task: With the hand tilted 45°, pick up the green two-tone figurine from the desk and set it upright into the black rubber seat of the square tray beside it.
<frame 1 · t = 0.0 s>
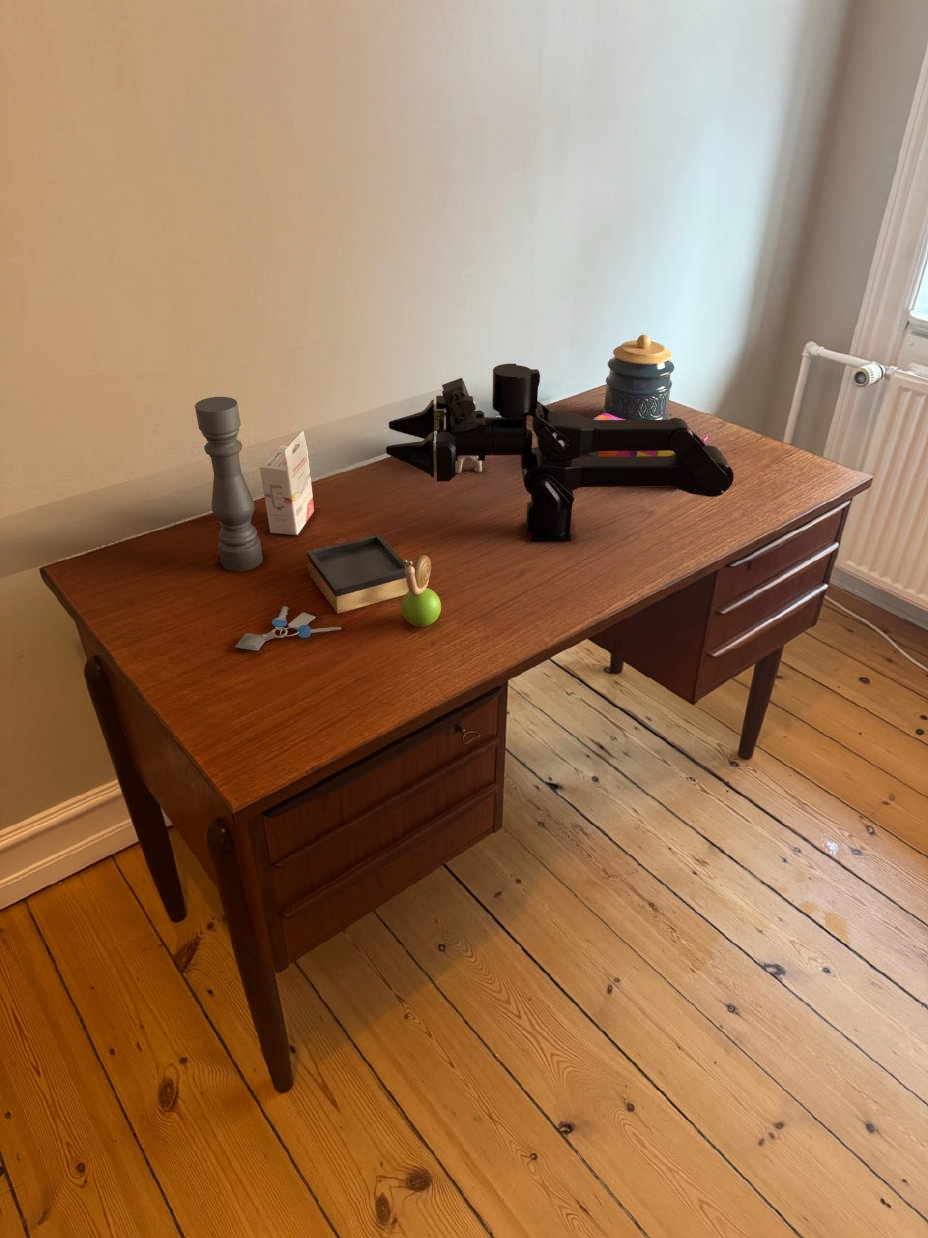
hand: (387, 437, 131), 17 cm above the table, tool horizontal, fingers open, 9 cm apart
green two-tone figurine: (420, 626, 120), on the table
pencil case: (640, 472, 160), on the table
canister: (633, 422, 179), on the table
white animal figure: (464, 461, 163), on the table
square tray: (360, 583, 129), on the table
ink cartridge box: (292, 523, 144), on the table
candle holder: (242, 561, 134), on the table
key chain: (284, 629, 120), on the table
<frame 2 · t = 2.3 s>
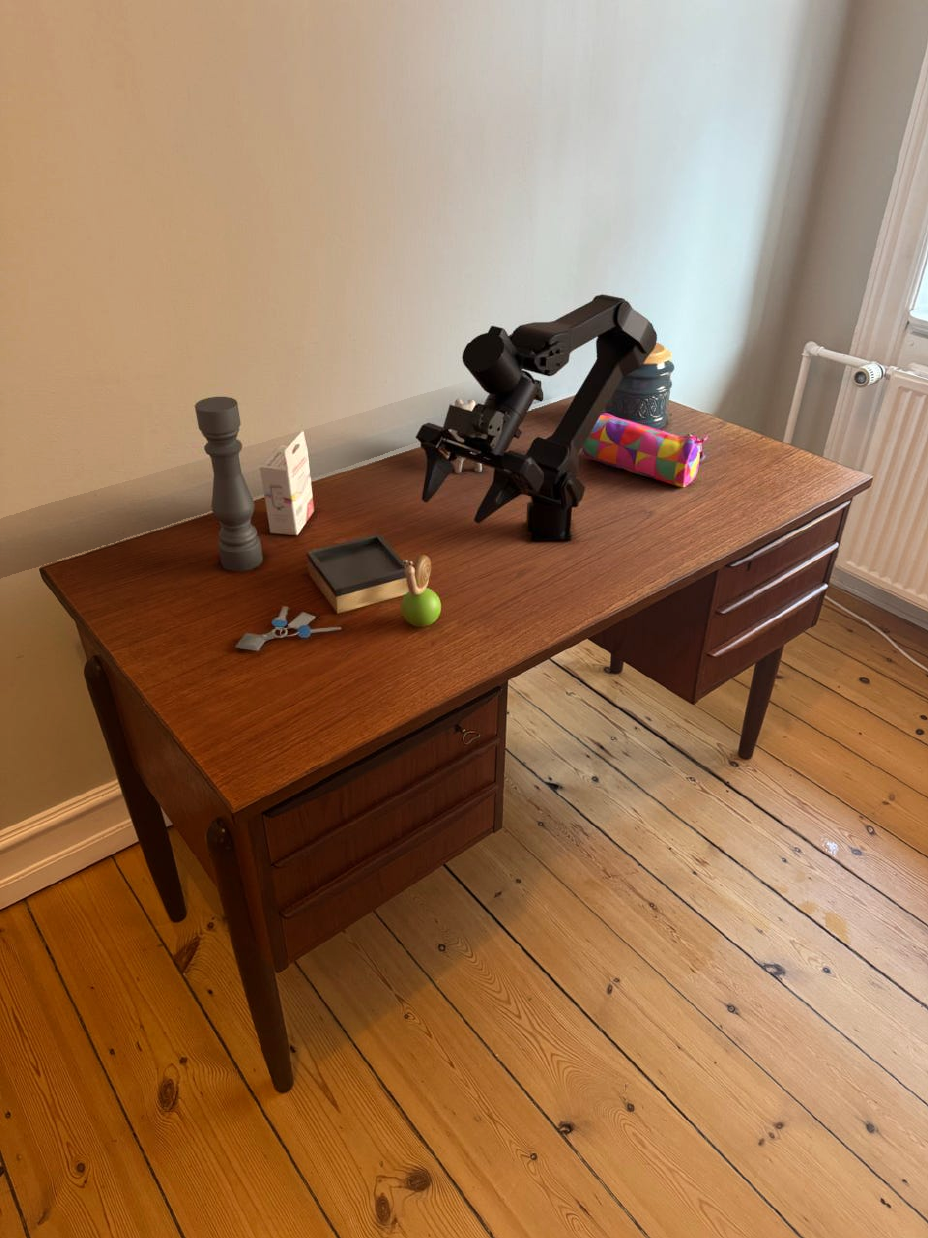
hand: (449, 511, 118), 14 cm above the table, tool tilted 45°, fingers open, 9 cm apart
nothing on the table moved.
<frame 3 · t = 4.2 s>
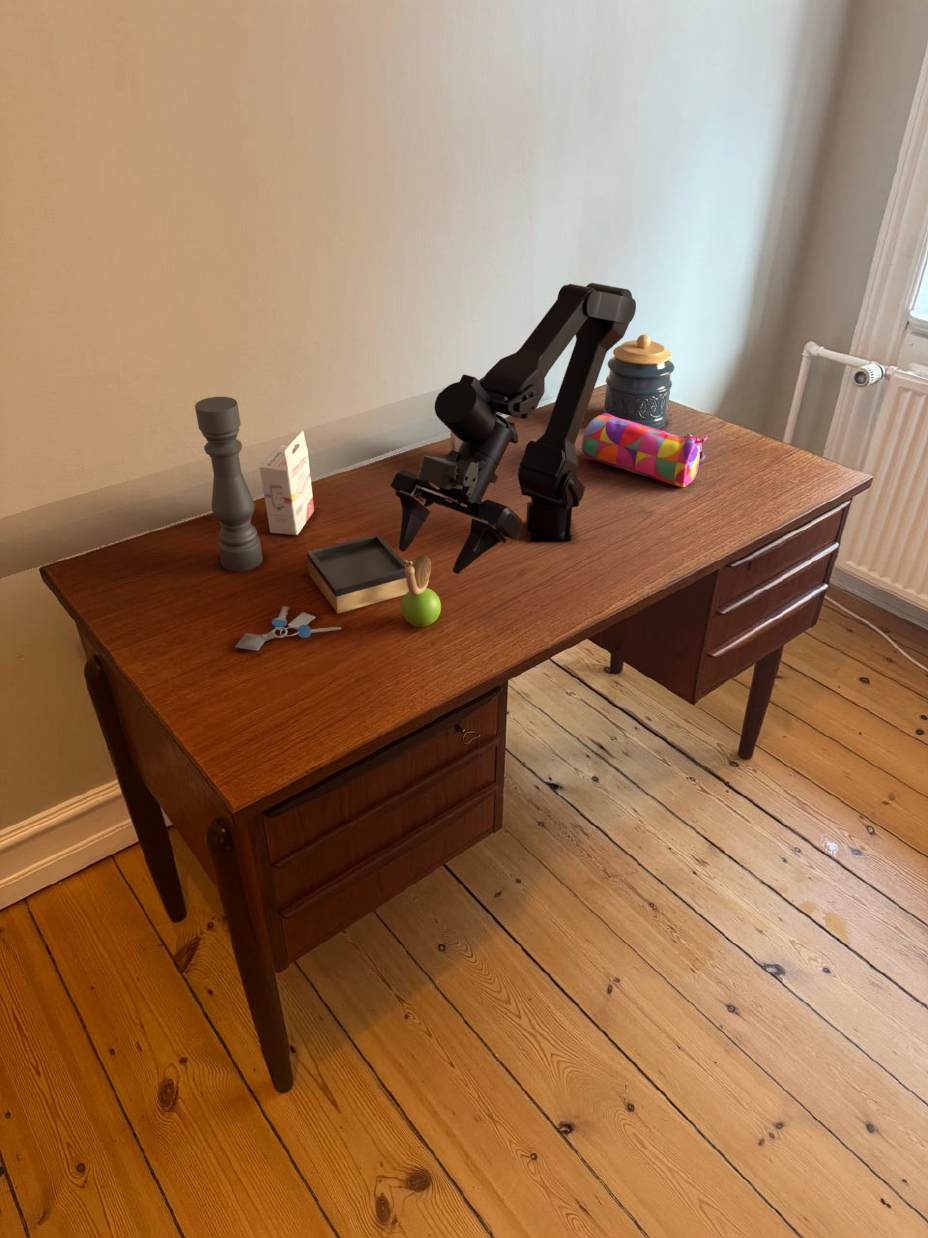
hand: (427, 561, 116), 9 cm above the table, tool tilted 45°, fingers open, 9 cm apart
nothing on the table moved.
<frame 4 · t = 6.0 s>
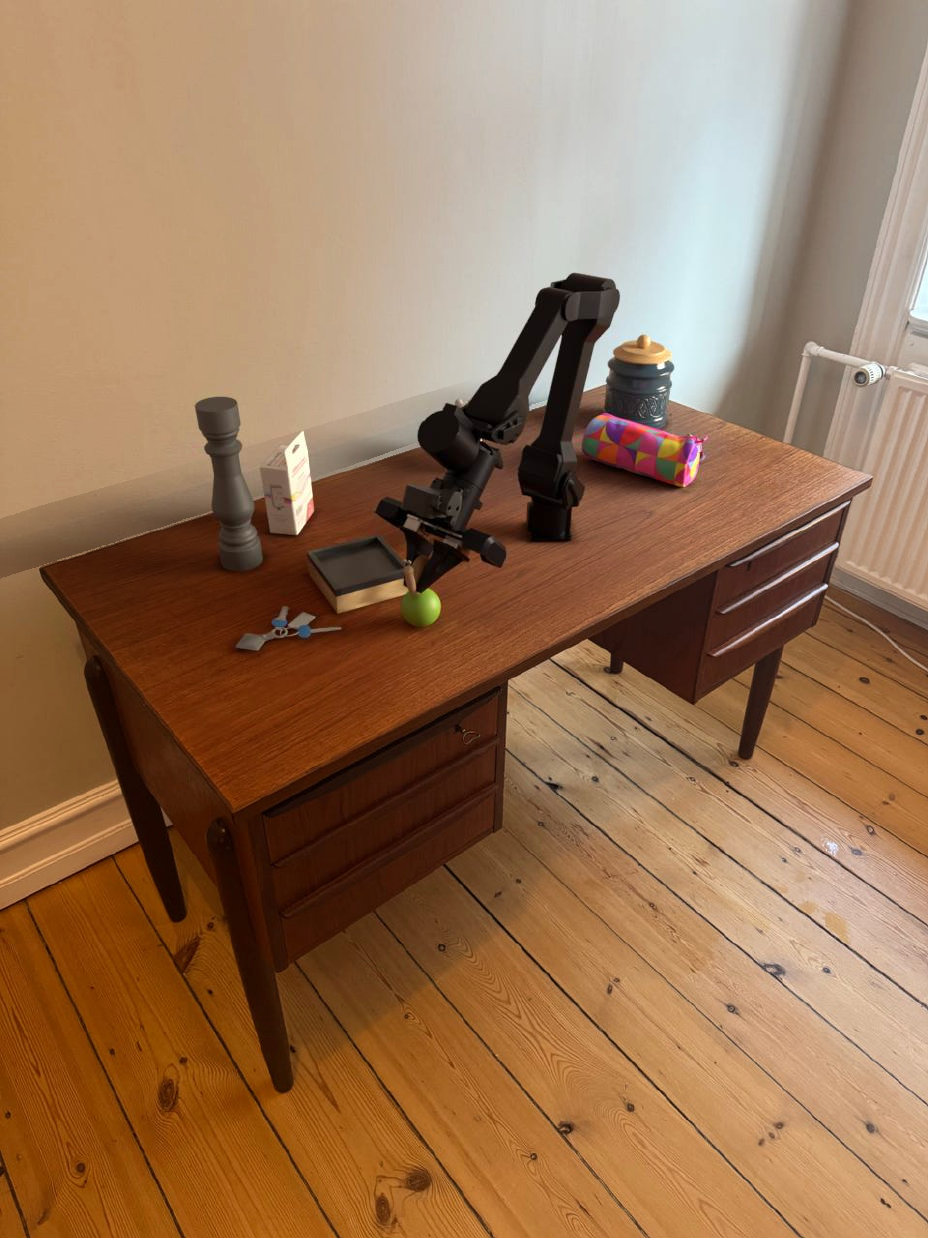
hand: (412, 589, 116), 7 cm above the table, tool tilted 45°, fingers closed on green two-tone figurine
green two-tone figurine: (419, 626, 120), on the table, touching gripper
everything else where it was.
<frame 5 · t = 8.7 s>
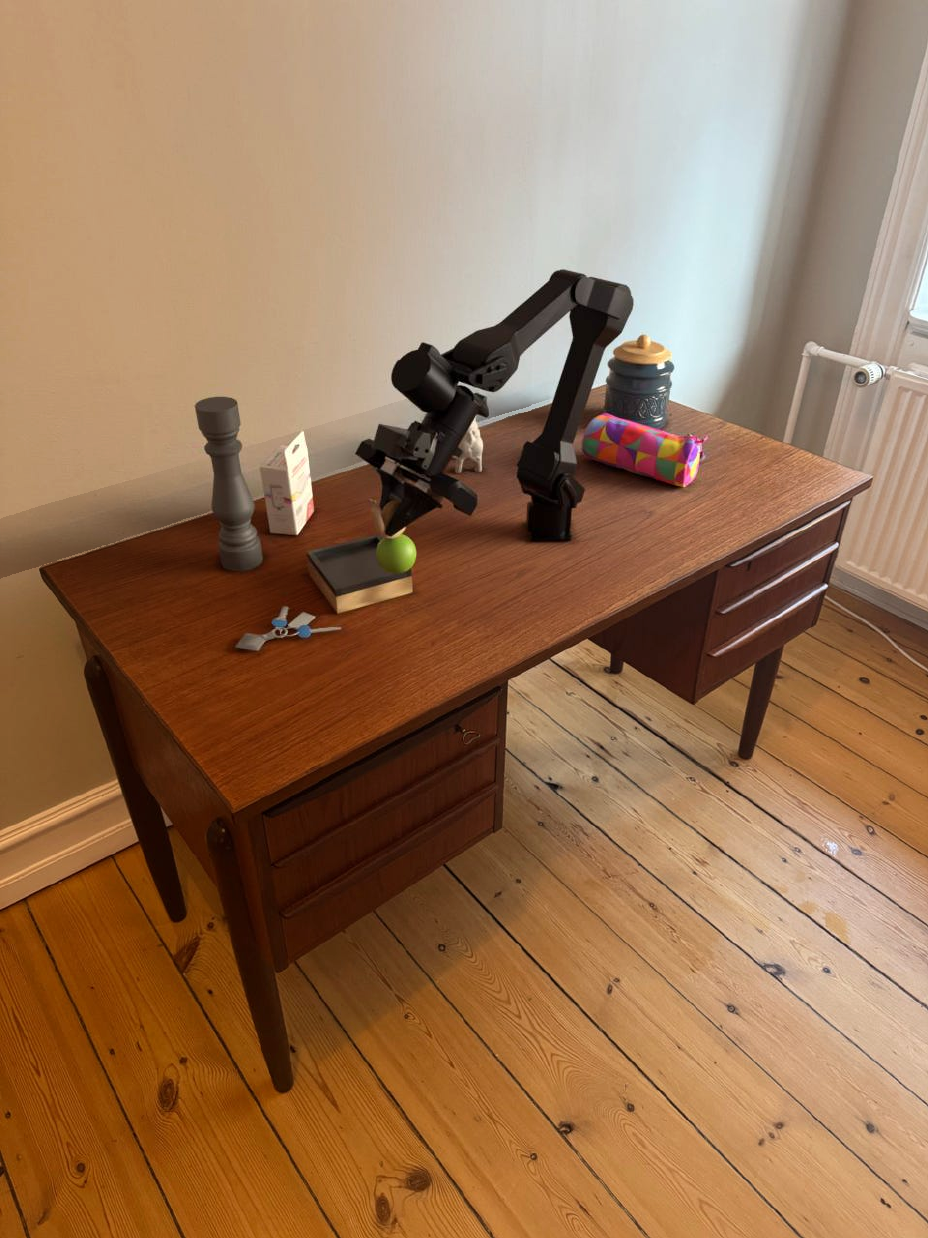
hand: (382, 532, 115), 13 cm above the table, tool tilted 45°, fingers closed on green two-tone figurine
green two-tone figurine: (395, 573, 119), point 6 cm above the table, touching gripper
everything else where it was.
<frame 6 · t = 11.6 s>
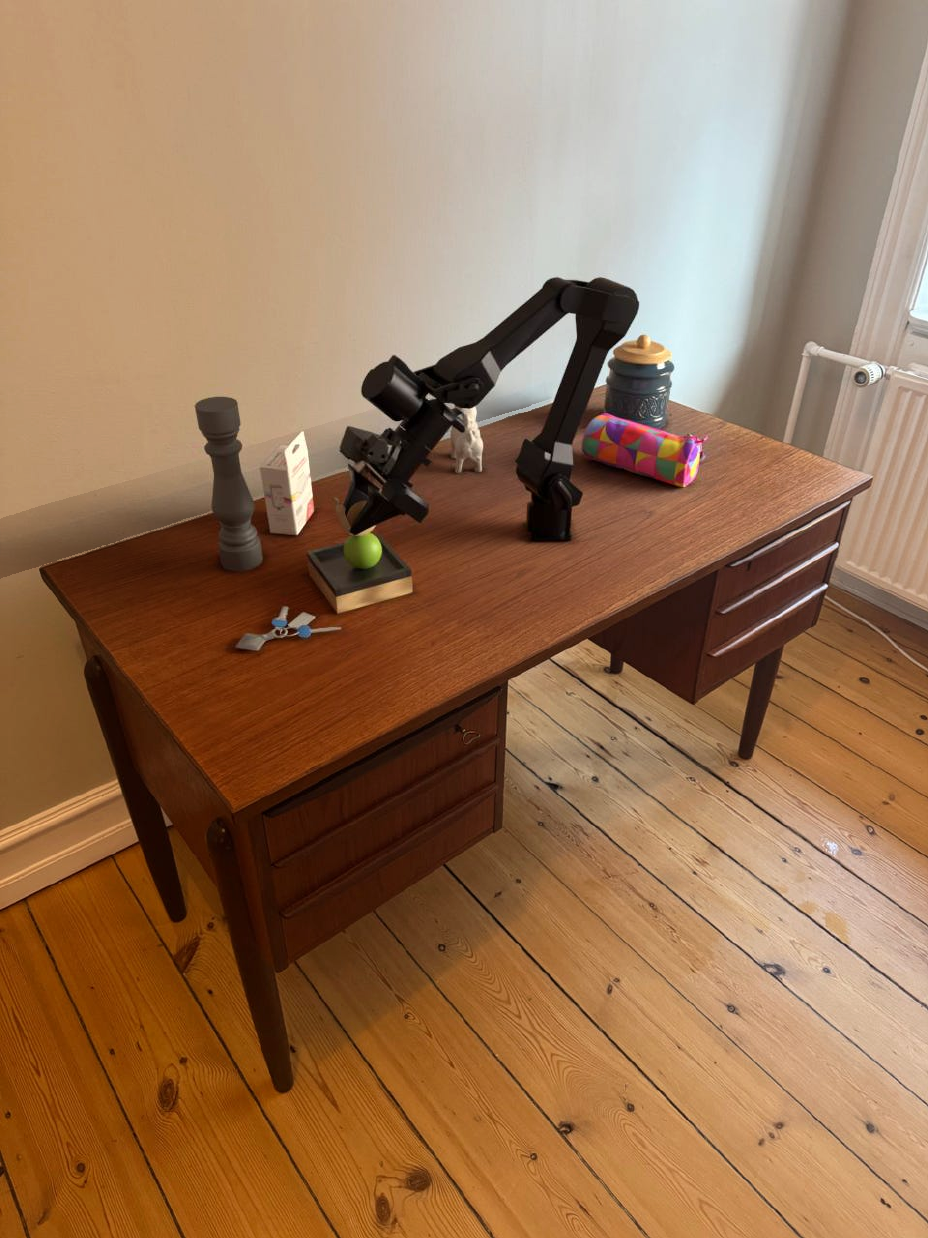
hand: (346, 527, 123), 10 cm above the table, tool tilted 45°, fingers open, 4 cm apart
green two-tone figurine: (361, 568, 127), point 3 cm above the table, touching square tray
everything else where it was.
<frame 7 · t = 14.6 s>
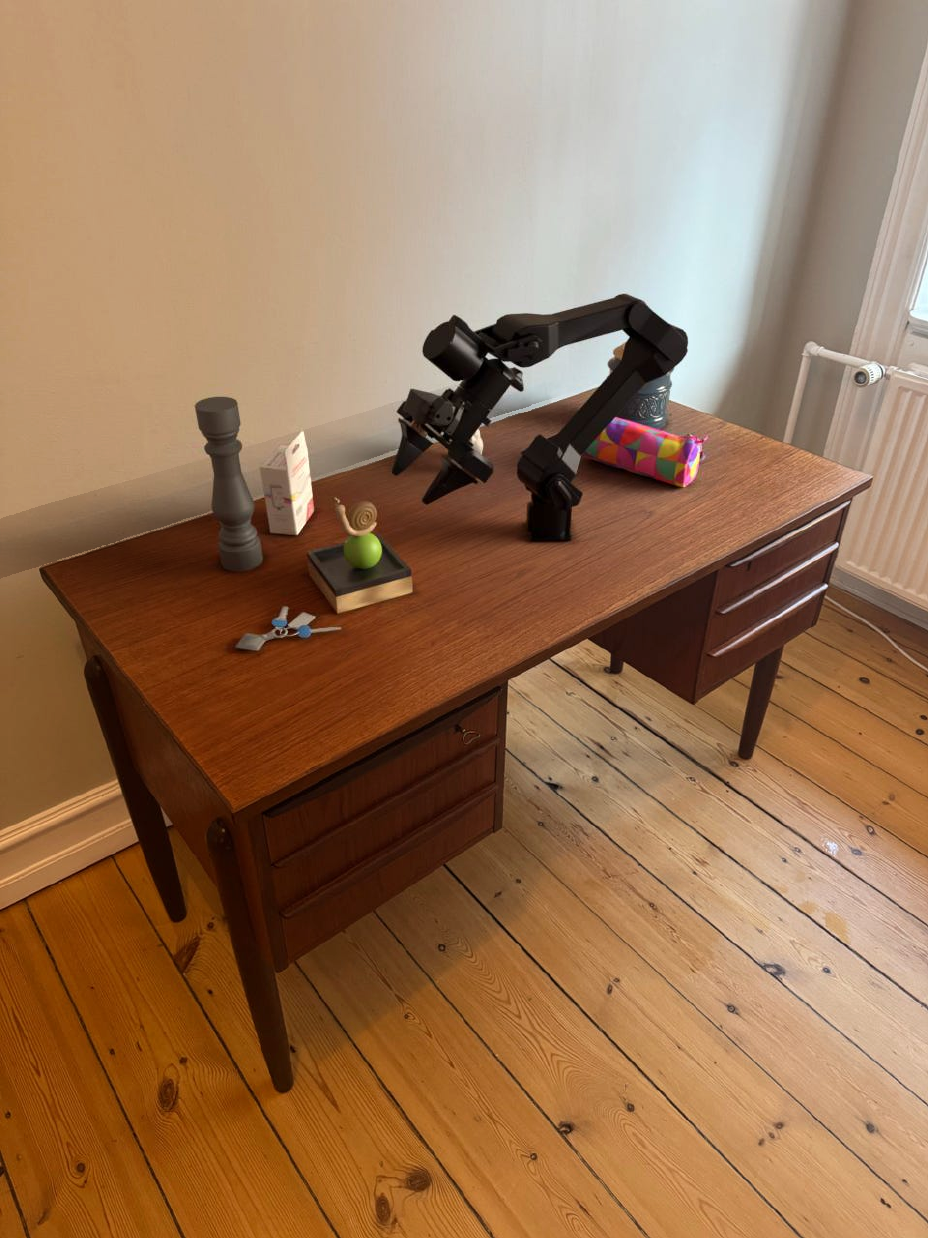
hand: (408, 488, 125), 13 cm above the table, tool tilted 45°, fingers open, 9 cm apart
nothing on the table moved.
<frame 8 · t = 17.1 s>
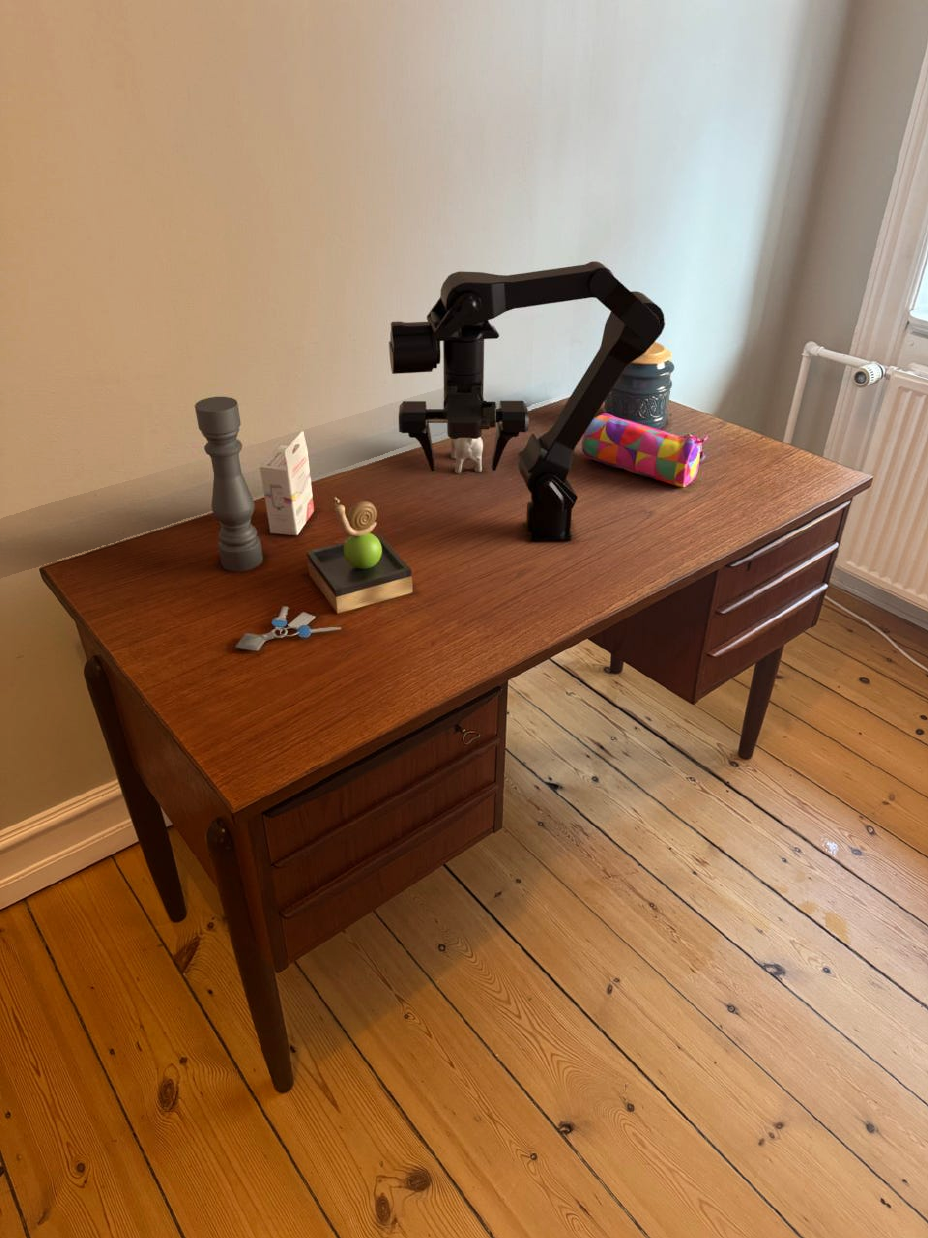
hand: (463, 470, 133), 12 cm above the table, tool pointing down, fingers open, 9 cm apart
nothing on the table moved.
at the end: green two-tone figurine 0.4 cm off-centre on the square tray, point 2.8 cm above the square tray's base; green two-tone figurine tilted 0°; the gripper is holding nothing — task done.
